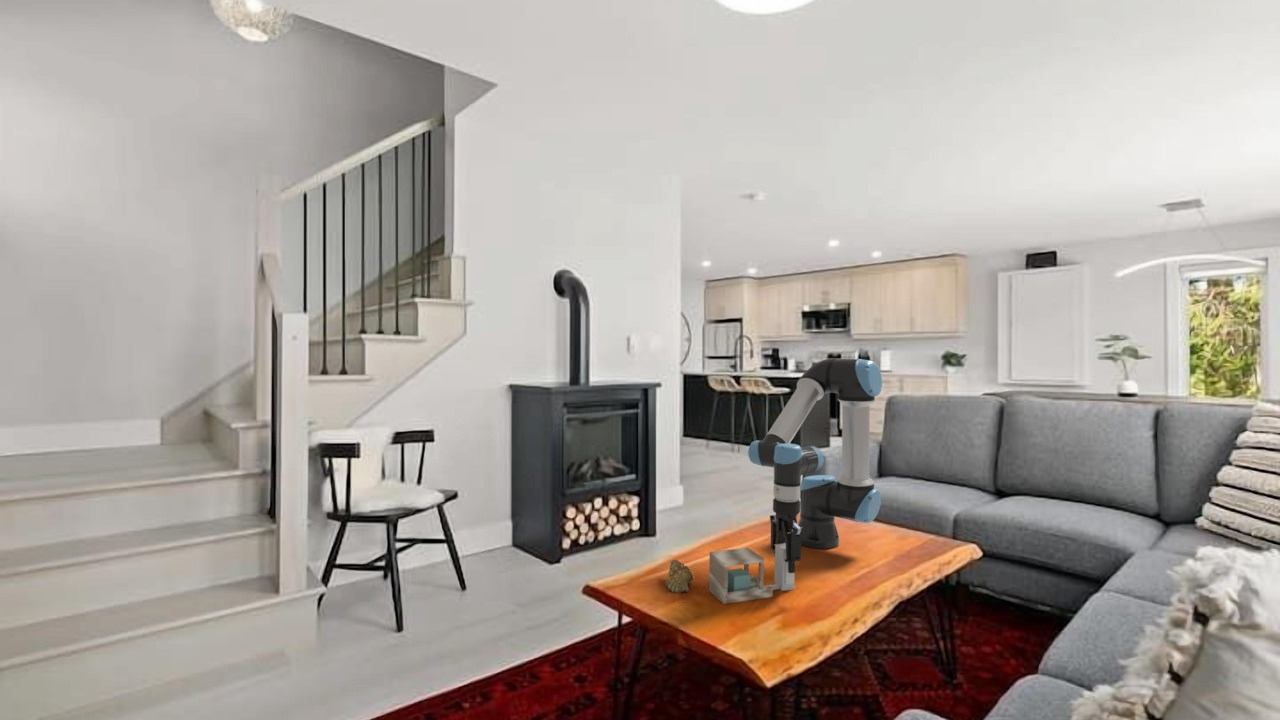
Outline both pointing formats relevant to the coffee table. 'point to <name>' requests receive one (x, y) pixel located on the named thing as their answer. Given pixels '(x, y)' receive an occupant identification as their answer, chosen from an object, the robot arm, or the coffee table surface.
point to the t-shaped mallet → (741, 578)
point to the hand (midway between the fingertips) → (784, 579)
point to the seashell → (679, 577)
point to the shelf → (720, 575)
